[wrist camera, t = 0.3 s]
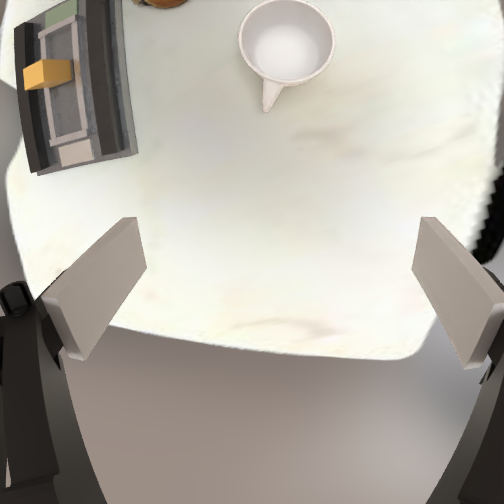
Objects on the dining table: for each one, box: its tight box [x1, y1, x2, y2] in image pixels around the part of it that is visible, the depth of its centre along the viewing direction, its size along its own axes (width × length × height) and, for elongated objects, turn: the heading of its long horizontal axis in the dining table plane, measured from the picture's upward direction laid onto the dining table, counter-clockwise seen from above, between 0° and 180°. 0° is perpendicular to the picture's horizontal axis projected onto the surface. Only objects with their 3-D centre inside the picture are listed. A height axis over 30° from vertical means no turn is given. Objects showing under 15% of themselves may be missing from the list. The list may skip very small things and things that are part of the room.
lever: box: [23, 59, 75, 90], centre depth 30 cm, size 3×4×7 cm
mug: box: [238, 0, 336, 113], centre depth 29 cm, size 9×12×11 cm
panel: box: [14, 0, 138, 176], centre depth 34 cm, size 26×18×4 cm
